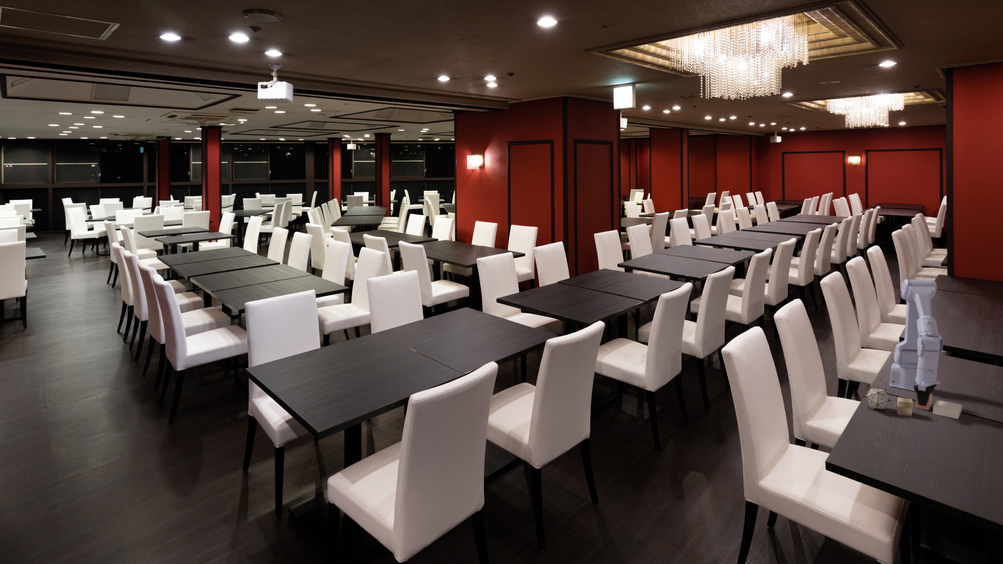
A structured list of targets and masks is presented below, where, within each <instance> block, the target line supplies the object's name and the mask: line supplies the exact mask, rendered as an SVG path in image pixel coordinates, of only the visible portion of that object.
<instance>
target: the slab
mask: <svg viewBox="0 0 1003 564" xmlns="http://www.w3.org/2000/svg"><path fill="white" fill-rule="evenodd" d="M932 407H933V409H932V414H933V415H938V416H942V417H946V418H951V419H956V420H959V417H960V415H961V414H962V407H963V406H962V404H960V403H955V402H951V401H950V402H949V401H945V400H942V399H941V400H940V399H936V401H935V403H934V404H933V406H932Z"/></svg>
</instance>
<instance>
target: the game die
mask: <svg viewBox="0 0 1003 564" xmlns="http://www.w3.org/2000/svg"><path fill="white" fill-rule="evenodd" d="M868 388H869V390H868V392H867V393H866V395H864V396H863V398H865V400H866V402H867V405H868V407H867V410H869V409H870V408H872V409H878V410H883V412H886V407H887V406H888V404H889V402H892V401H893V400H892V399H890V398H889V395H888V393H887V388H884V389H880V388H873V387H872V386H870V385H869V387H868Z"/></svg>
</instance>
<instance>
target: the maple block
mask: <svg viewBox="0 0 1003 564" xmlns="http://www.w3.org/2000/svg"><path fill="white" fill-rule="evenodd" d="M913 404H914V403H913V399H912V398H906V397H900V396H898V397H897V402H896V413H897V415H902V416H909V417H912V414H913V406H914V405H913Z"/></svg>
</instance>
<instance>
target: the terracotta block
mask: <svg viewBox="0 0 1003 564" xmlns="http://www.w3.org/2000/svg"><path fill="white" fill-rule="evenodd" d="M915 396H916V397H915V406H914V407H915V408H917V409H921V410H925V411H930V409H931V407H932V399H933V393H931V394H930V396H929V399H928V402H927V404H926V406H921V405H919V404H918V399H917V394H916V395H915Z"/></svg>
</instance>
